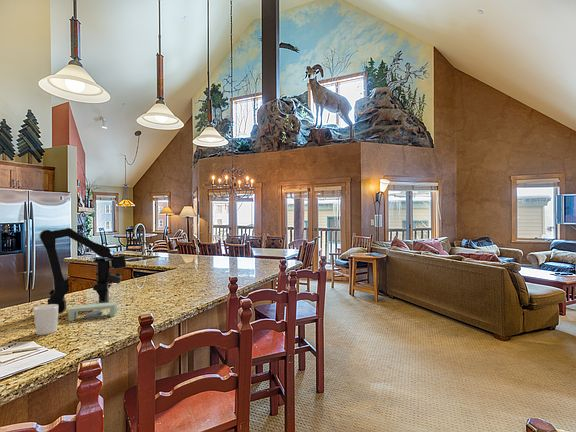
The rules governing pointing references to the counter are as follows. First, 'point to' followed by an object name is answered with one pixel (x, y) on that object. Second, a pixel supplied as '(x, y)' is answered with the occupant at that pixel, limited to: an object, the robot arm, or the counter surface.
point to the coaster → (93, 315)
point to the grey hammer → (103, 301)
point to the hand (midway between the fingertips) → (103, 300)
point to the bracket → (74, 309)
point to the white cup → (46, 319)
